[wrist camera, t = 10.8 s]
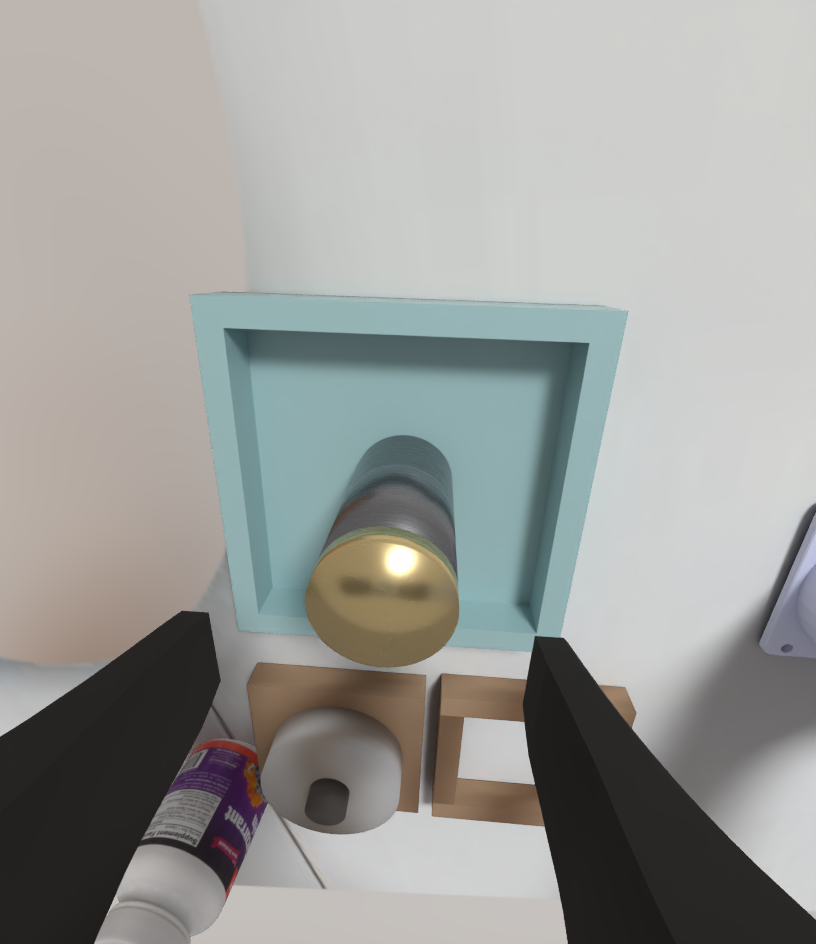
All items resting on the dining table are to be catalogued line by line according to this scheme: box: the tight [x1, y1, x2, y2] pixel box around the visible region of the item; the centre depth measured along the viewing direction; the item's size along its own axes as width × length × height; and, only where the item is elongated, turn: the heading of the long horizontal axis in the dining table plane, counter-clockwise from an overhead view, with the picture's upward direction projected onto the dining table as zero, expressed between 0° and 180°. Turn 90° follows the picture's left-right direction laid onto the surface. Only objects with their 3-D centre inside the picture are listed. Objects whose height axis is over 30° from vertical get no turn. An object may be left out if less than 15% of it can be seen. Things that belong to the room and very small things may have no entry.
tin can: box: [305, 435, 459, 667], centre depth 16 cm, size 4×4×8 cm
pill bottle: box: [94, 739, 268, 944], centre depth 24 cm, size 5×5×10 cm
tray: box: [189, 292, 628, 652], centre depth 19 cm, size 14×14×2 cm
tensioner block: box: [247, 663, 636, 834], centre depth 24 cm, size 19×9×4 cm, turn 88°
